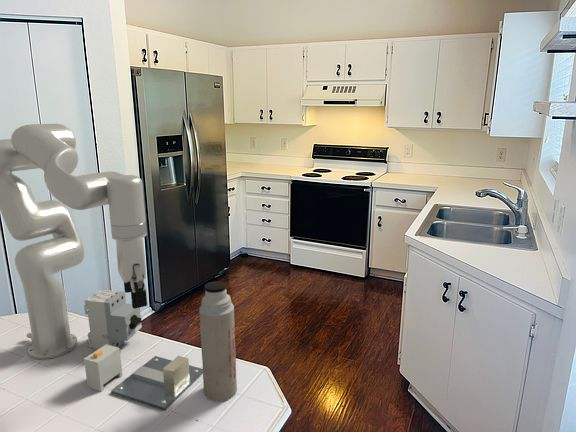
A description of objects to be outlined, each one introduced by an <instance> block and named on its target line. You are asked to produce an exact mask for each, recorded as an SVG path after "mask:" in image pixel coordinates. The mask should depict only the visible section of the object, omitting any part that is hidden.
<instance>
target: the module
mask: <svg viewBox="0 0 576 432" xmlns="http://www.w3.org/2000/svg"><path fill="white" fill-rule="evenodd" d="M120 349H121V348H120V347H114V346H110V345H107V344H106V345H104V346H103V347H101V348H100V349H96V350H95V351H94V352H92V353H90V354H89V355H88V356H86V357H84V358H83V361H84V371H85V376H86V377H85V378H86V383H87V384H86V385H87V388H89V389H92V390H95V391H98V392H103V391H104V385H105V384H106V383H108V382H109V381H110V380H112V379H113V378H114V377H118V378H121V377H123V369H122V358H121V351H120Z"/></svg>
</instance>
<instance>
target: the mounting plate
mask: <svg viewBox="0 0 576 432" xmlns="http://www.w3.org/2000/svg"><path fill="white" fill-rule="evenodd" d="M189 363H190V362H189V357H185V356H182V355H177V356H176V357H175V358H174V359H173V360H172V359H169V358H164V357H160V356H157V355H155V356H154V357H152V358H150V359H149V360H148V361H147V362H146V363H145V364H143V365H141V366H140V367H138V369H136V370H135V371H134V372H132V374H130V375H129V376H128V377H126V378H125V379H124V380H123V381H121V382H120V383H119V384H117V385H116V386H114V388H112V389H111V390H110V393H111V394H113V395H116V396H119V397H122V398H125V399H128V400H131V401H134V402H138V403H140V404H144V405H146V406H149V407H151V408H155V409H159V410H160V411H161V410H162V411H164V412H165V411H166V410H168V408H170V407H171V405H173V404H174V403H175V402H176V401H177V400H178V399H179V398H180V397H181V396H182V394H184V393H185V392H186V391H187V390H188V389H189V388H190V387H191V386H192V385H193V384H194V383H195V382H196V381H197V380H198V379H199V378H200V377H201V376H203V368H201V367H196V366H193V365H190V364H189Z"/></svg>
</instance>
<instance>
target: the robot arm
mask: <svg viewBox="0 0 576 432" xmlns="http://www.w3.org/2000/svg"><path fill="white" fill-rule="evenodd" d="M76 146H77V140H76V136H75V134H74V133H73V131H72V130H71V129H70V127H67V126H66V125H64V124H61V123H35V124H33V123H31V124H30V123H29V124H25V125H21V126H19V127H17V128H16V129H14V131H13V132H12V134H11V137H10V138H5V139H4V138H3V139H0V214H1V216H2V219H3V220H4V223H5V225H6V227H7V230H8V232H9V234H10V235H11V237H12V238H13V239H14V240H16V241H19V242H21V241H30V240H33V239H38V238H41V237H45V236H49V235H52V237H53V238H50V239H45V240H42V241H37V242H34V243H31V244H28V245H26V246H24V247H22V248H21V249H19V250H18V251H17V252H16V254H15V257H14V263H15V264H14V265H15V268H16V270H17V272H18V275H19V277H20V280H21V281H20V282H21V284H22V289H23V293H24V297H25V303H26V308H27V313H28V321H29V326H30V327H29V328H30V332H28V333H27V334H26V338H29V339H30V340H31V344H30V345H29V346H28V348H27V355H28V356H29V357H30V358H32V359H35V360H49V359H54V358H58V357H60V356H63V355H65V354H67V353H69V352H71V351H72V350H73V349H74V348H75V347H76V346H77V345H78V337H77V336H76V335H75V334H73V333H71V329H70V328H71V327H70V321H69V315H68V306H67V302H66V299H67V298H66V294H65V293H66V292H65V288H64V285H63V284H62V283H61V282H60V281H59V280H58V279H56V278H55V277H54V275H55V274H57V273H60V272H63V271H65V270H67V269H71V268H73V267H75V266H78V265H80V264H81V263H82V262H83V261H84V259H85V248H84V245H83V242H82V240H81V236H80V234H79V232H78V229H77V227H76V225H75V221H74V220H73V219H74V218H73V216H72V214H71V212H70V211H69V209H68V208H70V209H73V210H77V211H85V210H89V209H93V208H96V207H102V206H106V205H107V206H108V211H109V212H108V213H109V220H110V231H111V238H112V239H113V240H115V244H116V245H115V246H116V247H115V248H116V260H117V264H116V265H117V273H118V274H119V276H120V278H121V280H122V282H123V287H124V292H125V294H127V293H130V294H131V295H130V296H131V297H130V298H131V304H132V307H133V308H134V309H135V308H140V309H141V308H143V307H147V306H148V298H147V297H148V296H147V289H146V285H145V279H146V277H147V271H146V270H147V269H146V268H147V267H146V257H145V247H144V241H143V238H145V237H146V236H147V235H148V234H147V233H148V232H147V221H146V208H145V198H144V197H145V195H144V184H143V180H142V178H140V176H138V175H133V174H122V173H120V172H117V171H104V172H103V171H102V172H95V173H89V174H84V175H83V174H82V175H76V176H75V175H73V174H72V173H73V172H74V171H75V169H76V168H77V166H78V165H79V164H78V163H79V154H78V152H77V150H76ZM36 169H37V170H38V169H40V170H42V171H43V178H44V183H45V186H46V187H47V189H48V191H49V193H50V194H51V196H53V197H54V198H55V199H56V200H55V199H54V200H51V199H50V200H44V201H39V202H38V201H37V200H36V199H35V197H34V195H33V192H32V189H31V188H30V186H29V185H28V184H27V183H26V182H25V181H24V180H23V179H21V178H20V177H19V176H17V175H15V174H13V172H18V171H19V172H20V171H27V170H36Z"/></svg>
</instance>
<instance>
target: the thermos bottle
mask: <svg viewBox="0 0 576 432" xmlns="http://www.w3.org/2000/svg"><path fill="white" fill-rule="evenodd" d="M204 290H205V292H204V293H205V294H204V296H203V297H202V299H201V302H200V304H201V305H200V307H199V309H198V311H199V313H198V314H199V315H198V316H199V329H200V330H199V332H200V345H201V347H200V348H201V361H202V369H203V374H202V380H203V382H202V383H203V395H204V396H205V398H206V399H207V400H209V401H211V402H215V403H216V402H224V401H228V400H230V399H232V398H233V397H234V396H235V395H236V393H237V391H238V390H237V389H238V387H237V385H238V384H237V382H238V381H237V357H236V329H235V328H236V326H235V306H234V304H233V303H232V299H231V295H230V294H227V283H225V282H224V281H211V282H207V283H205V284H204Z"/></svg>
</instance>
